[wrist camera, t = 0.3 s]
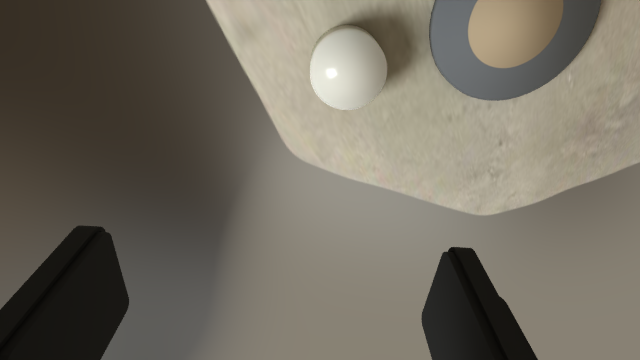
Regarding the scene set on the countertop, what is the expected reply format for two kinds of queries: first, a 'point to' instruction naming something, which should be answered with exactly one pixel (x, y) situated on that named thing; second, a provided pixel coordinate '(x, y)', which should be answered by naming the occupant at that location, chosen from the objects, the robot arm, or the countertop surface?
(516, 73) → the disc
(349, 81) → the white smooth round part
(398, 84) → the countertop surface
